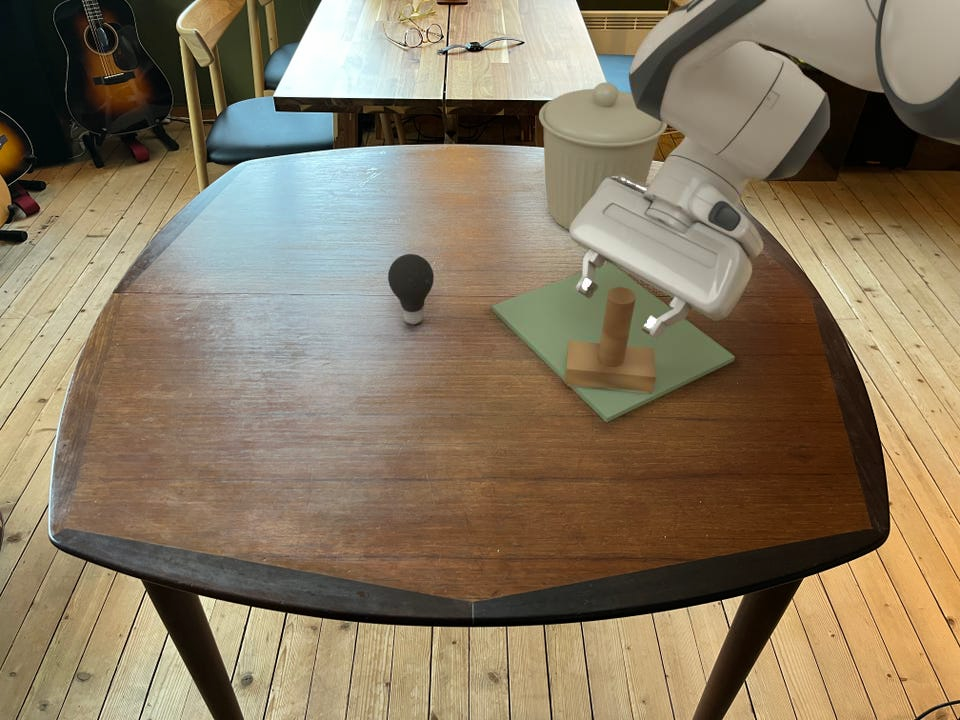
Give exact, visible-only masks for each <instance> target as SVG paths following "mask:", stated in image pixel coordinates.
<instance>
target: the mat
mask: <svg viewBox="0 0 960 720" xmlns="http://www.w3.org/2000/svg"><path fill="white" fill-rule="evenodd" d="M582 276H583V275H582V271H581V272H578V273H576V274H573V275H571V276H568V277H565V278H562V279H560V280H557V281H555V282H551V283H549V284H547V285H543V286H541V287H538V288H536V289H533V290H530V291H527V292H525V293H522V294H520V295H517V296H514V297H511V298H509V299H506V300H502V301H501V302H497V303H495V304H492V305H491V311H492V312H493V313H494V314H495V316H496V317H498V318H499V319H500V320H501V321H502V322H503V323H504V324H505V325H506V327H508V328H509V329H510V330H511V331H512V332H513V333H514V334H515V335H516V336H517V337H518V338H519V339H520V340H521V341H522V342H523V343H524V344H525V345H526V346H527V347H528V348H530V350H531V351H532V352H534V354H536V355H537V356H538V358H540V359H541V360H542V361H543V362H544V363H545V364H546V365H547V366H548V367H549V368H550V369H551V370H552V371H553V372H554V373H555V374H556V375H557V376H558V377H559V378H560V379H561V380H562V381H563V382H564V383H565V373H566V357H567V348H568V341H577V342H588V343H599V344H600V340H601V334H602V327H603V321H604V314H605V308H606V301H607V295H608V292H609V290H611V289H612V288H616V287H624V288H627V289H630V290H632V291H633V292H634V293H635V295H636V300H635V305H634V310H633V316H632V321H631V326H630V332H629V337H628V342H627V346H633V347H644V348H654V356H655V370H656V379H655V384H654V388H653V392H649V394H645V393H634V392H624V391H613V390H603V389H592V388H582V387H571V386H569V388H571V390H572V391H574V392H575V394H577V395H578V396H579V398H580V399H582V400H583V402H585V403H586V404H587V405H588V407H590V408H591V410H593V411H594V412H595V413H596V414H597V415H598V416H599V417H600V418H601V419H602V420H603V421H604V422H605V423H609V422H610V421H612V420H615V419H617V418H619V417H621V416H623V415H625V414H627V413H629V412H633V411H634V410H636V409H638V408H640V407H642V406H644V405H647V404H648V403H650V402H653V401H655V400H656V399H658V398H660V397H662V396H664V395H667V394H669V393H671V392H673V391H675V390H678V389H679V388H682V387H683V386H685V385H687V384H690V383H692V382H694V381H695V380H698V379H700V378H702V377H704V376H707V375H708V374H710V373H713V372H715V371H717V370H719V369H721V368H723V367H725V366H727V365H729V364H731V363H733V362H734V361H735V359H736V356H735V355H733V353H731V352H730V351H728V350H727V349H726V348H725V347H723V346H722V345H720V343H718V342H716V341H715V340H714V339H713V338H711V337H710V336H708V335H707V334H706V333H704V332H703V331H702V330H700V328H698V327H696V326H695V324H693V323H691V322H690V321H688V320H687V318H684V319H682V320H680V321H678V322H676V323H674V324H672V325H670V326H669V327H668V326H667V327H666V329H665V330H664V332H663V333H662V335H661V336H660V338H659V339H655V338H653V337H651V336H650V335H648V334H647V333H645V332H644V331H643V330H642V328H643V326H644V324H646V323H647V320H648V318H649V317H650V315H651V316H653V317H655V318H658V317H660V316H662V315H663V314H665V313H667V312H668V311H670V310H672V308H671V307H670V305H668V304H666V303H665V302H664V301H662V300H661V299H660V298H658V297H657V296H655V295H654V294H653V293H651V291H649V290H647V289H646V288H645V287H644V286H643V285H641V284H640V283H638V282H637V281H636V280H635V279H633V278H632V277H631V276H629V275H627V274H626V272H625V271H623V270H622V269H620V268H618V267H616V266H615V265H613V264H611V263H609V262H604V264H603V265H602V267H601V268H597V267H596V269H595V276H594V283H595V284H596V285H598V286H599V287H598V288H597V290H596V291H595V292H593V296H592V297H591V298H587V297H585V296H583V295H582V294H580V293H579V292H577V291H576V290H575V287H576V285H577V284H578V282H579V281H580V279H581V277H582Z"/></svg>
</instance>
